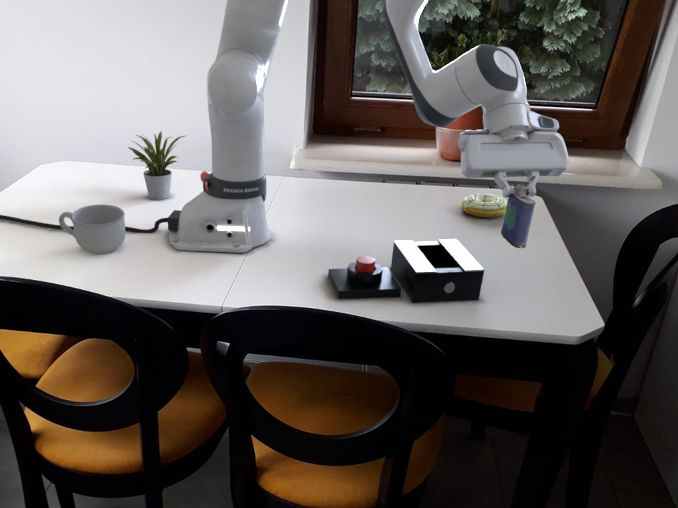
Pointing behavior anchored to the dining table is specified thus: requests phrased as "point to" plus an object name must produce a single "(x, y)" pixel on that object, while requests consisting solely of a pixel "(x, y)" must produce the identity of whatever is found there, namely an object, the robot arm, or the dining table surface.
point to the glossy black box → (436, 271)
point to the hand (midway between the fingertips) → (520, 195)
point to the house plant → (157, 167)
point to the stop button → (365, 264)
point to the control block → (364, 283)
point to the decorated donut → (484, 205)
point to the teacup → (96, 227)
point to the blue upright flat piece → (518, 217)
